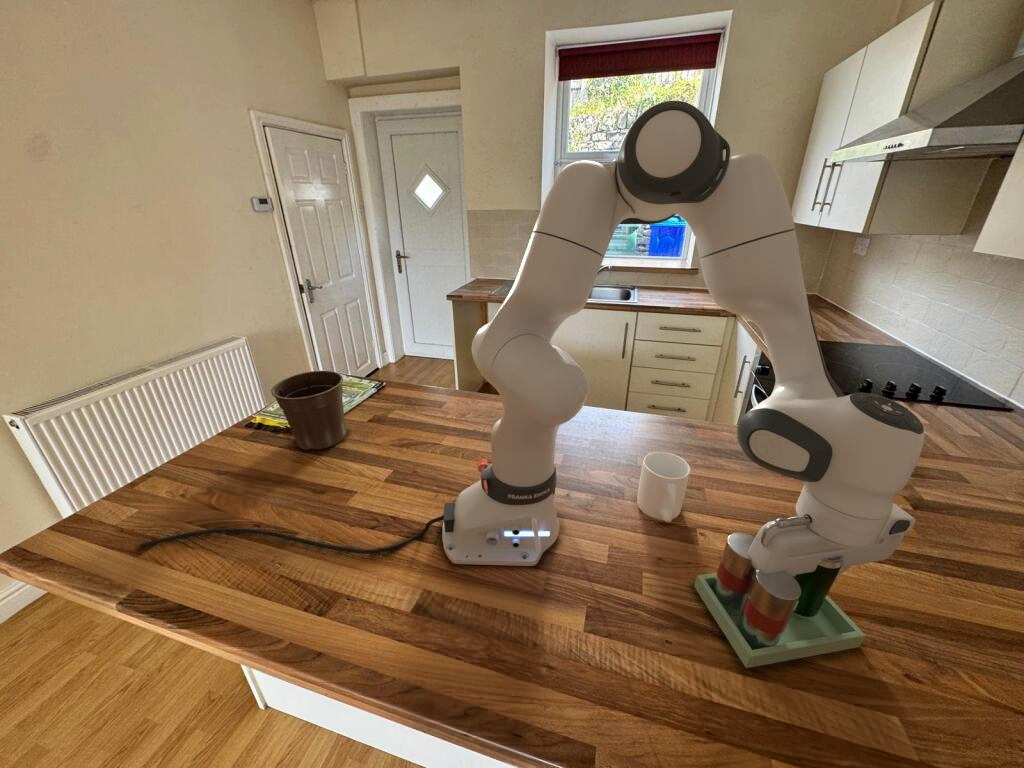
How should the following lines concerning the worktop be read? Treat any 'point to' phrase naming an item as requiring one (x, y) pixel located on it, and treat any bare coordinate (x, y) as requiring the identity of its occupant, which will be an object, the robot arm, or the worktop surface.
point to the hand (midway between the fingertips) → (805, 582)
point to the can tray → (786, 631)
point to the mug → (662, 485)
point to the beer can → (816, 587)
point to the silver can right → (768, 608)
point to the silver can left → (735, 574)
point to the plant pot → (313, 408)
